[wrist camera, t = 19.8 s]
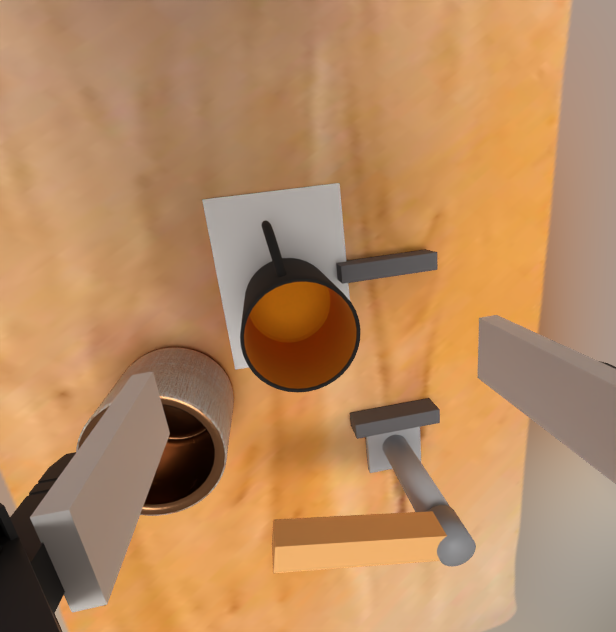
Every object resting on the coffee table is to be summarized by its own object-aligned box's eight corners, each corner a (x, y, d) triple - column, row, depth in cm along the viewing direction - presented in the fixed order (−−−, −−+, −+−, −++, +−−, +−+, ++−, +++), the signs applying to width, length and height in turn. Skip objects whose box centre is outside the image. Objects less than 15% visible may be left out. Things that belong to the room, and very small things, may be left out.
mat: (202, 199, 32) (202, 199, 31) (338, 183, 33) (339, 182, 32) (235, 367, 36) (235, 369, 36) (353, 348, 38) (354, 349, 37)
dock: (335, 262, 35) (368, 284, 25) (425, 249, 36) (492, 265, 26) (355, 470, 42) (387, 553, 32) (430, 455, 43) (484, 531, 33)
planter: (126, 335, 34) (79, 382, 25) (243, 354, 36) (239, 403, 27) (114, 436, 37) (68, 512, 28) (224, 449, 39) (215, 522, 30)
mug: (308, 205, 33) (330, 204, 23) (340, 327, 36) (372, 372, 26) (218, 232, 32) (201, 242, 22) (260, 353, 36) (261, 407, 26)
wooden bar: (271, 544, 29) (273, 580, 26) (273, 513, 28) (275, 547, 26) (451, 532, 32) (471, 564, 29) (458, 504, 31) (479, 534, 28)
